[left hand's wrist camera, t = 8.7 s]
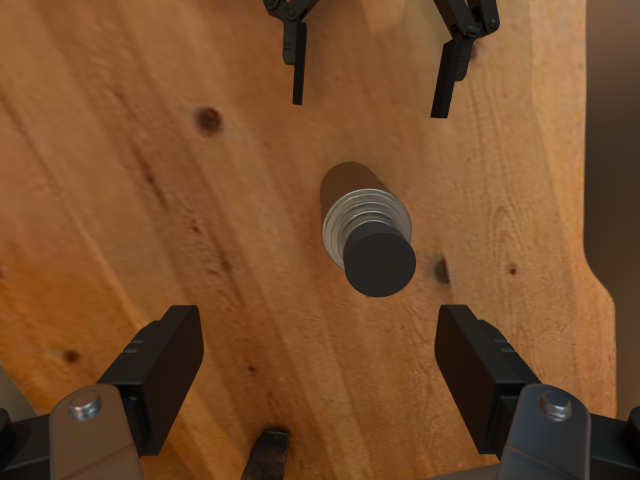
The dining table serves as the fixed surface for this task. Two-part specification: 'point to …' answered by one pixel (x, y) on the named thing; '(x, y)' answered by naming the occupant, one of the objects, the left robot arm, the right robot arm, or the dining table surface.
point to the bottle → (356, 207)
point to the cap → (378, 260)
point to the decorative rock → (267, 457)
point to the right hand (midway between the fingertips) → (368, 111)
